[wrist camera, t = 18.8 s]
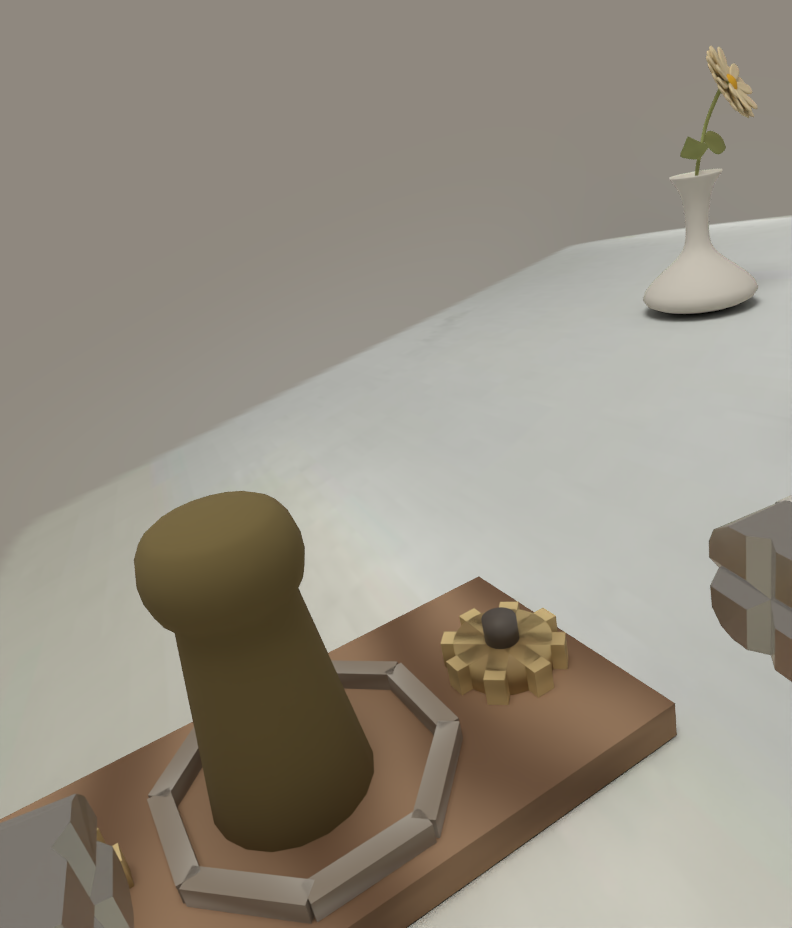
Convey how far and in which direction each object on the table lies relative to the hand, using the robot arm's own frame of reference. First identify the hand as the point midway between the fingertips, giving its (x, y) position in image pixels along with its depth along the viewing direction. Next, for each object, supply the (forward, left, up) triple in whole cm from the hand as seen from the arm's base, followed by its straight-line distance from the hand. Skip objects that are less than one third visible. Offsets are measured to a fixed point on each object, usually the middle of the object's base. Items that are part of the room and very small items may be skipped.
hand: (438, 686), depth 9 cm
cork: (0, -15, -14) cm, 20 cm away
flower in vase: (-63, -47, -16) cm, 80 cm away
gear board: (-1, -14, -15) cm, 21 cm away
